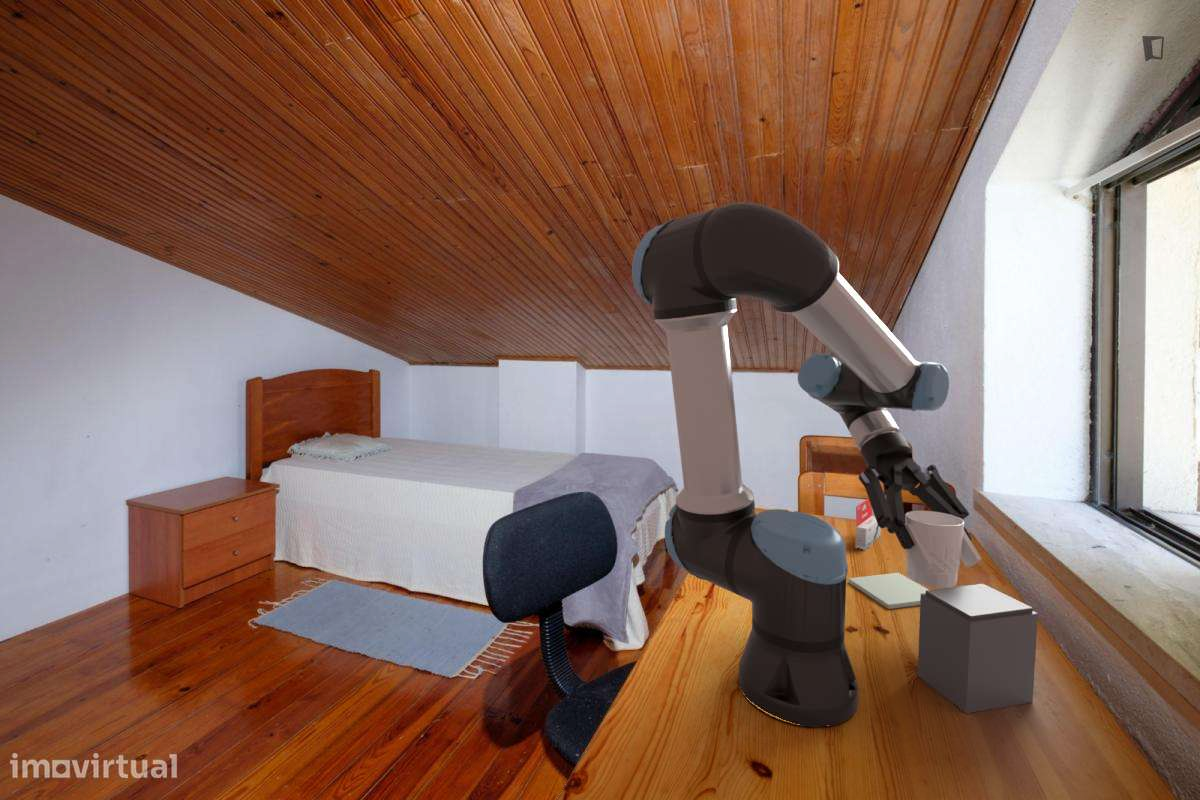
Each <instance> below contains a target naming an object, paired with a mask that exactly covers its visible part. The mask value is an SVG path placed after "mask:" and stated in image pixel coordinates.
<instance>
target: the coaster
mask: <svg viewBox="0 0 1200 800" xmlns="http://www.w3.org/2000/svg"><path fill="white" fill-rule="evenodd" d="M848 583H849V584H850V585H852V586H853V587H855V588H856V589H858V590H859V591H861V592H862V593H864V594H865V595H867V596H868V597H870V598H871V599H872V600H874V601H876V602H877V603H879V604H880V605H882V607H884V608H887V609H888V610H892V609H899V608H900V609H901V608H907V607H916V606H920V599H921V594H923V593H926V591H927V590H929V589H928V588H927V587H925V586H924V585H923V586H922V584H919V583H917V582H914V581H913V580H911V579H910V578H908V576H905V575H904V574H901V573H900V572H893V573H885V574H876V575H868V576H865V575H864V576H858V577H849V578H848Z"/></svg>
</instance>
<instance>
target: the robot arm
mask: <svg viewBox="0 0 1200 800" xmlns="http://www.w3.org/2000/svg"><path fill="white" fill-rule="evenodd" d="M631 266H632V267H631V273H632V274H631V275H632V282H633V285H634V288H635V290H636V293H637V294H638V295H639V296H641V297H642V298H641V300H643V301H644V303H646V304H648V305H650V306H652V312H653V321H654V322H655V323H656V324H657V325H658V326H659V327H661V328H662V329H663V330H664V331H665V332H666V339H667V340H666V341H667V349H668V357H669V366H670V375H671V384H672V385H671V386H672V393H673V401H674V410H675V419H676V427H677V436H678V445H679V452H680V463H681V464H680V465H681V471H682V479H683V481H682V482H683V489H681V491H680V492H679V493H678V494H677V495H676V497H675V504H673V506H672V508H671V509H670V511H669V512H668V515H669V519H668V520H666V521H665V525H664V542H665V546H666V549H667V552H668V554H669V556H670V559H672V560H673V562H674V563H675V564H676V565H677V566H678V567H679V568H681V569H682V570H684V571H686V572H688V574H690V575H691V576H694V577H695V578H697V579H699V580H704V581H707V582H709V583H711V584H714V585H715V586H717V587H720V588H722V589H724V590H726V591H729V592H730V593H733V594H735V595H737V596H739V597H742V598H744V599H746V600H748V601H750V602H751V630H750V632H749V636H748V637H747V641H746V644H745V647H744V650H743V652H742V656H741V658H740V661H739V663H738V685H739V684H740V686H739V688H740V687H741V689H742V691H743V693H744V694H745V696H746V697H747V698H748V699H749V700H750V701H751V702H753V703H754V704H755V705H757V706H758V707H760V708H761V709H763V710H764V711H766V712H768V713H770V714H772V715H774V716H777V717H779V718H781V719H783V720H786V721H789V722H792V723H795V724H800V725H803V726H802V727H804V726H811V727H810V728H814V727H813V726H816V727H815V728H818V727H817V726H827V725H834V724H837V725H839V724H838V723H840V722H842V721H845V720H846V721H848V720H849V719H851V718H852V717H853V716H854V715H855V713H856V711H857V710H858V704H859V687H858V685H859V684H858V681H857V679H856V674H855V672H854V668H853V666H852V663H851V659H850V655H849V653H848V649H847V648H846V647H847V646H846V644H845V632H846V631H845V626H846V603H847V602H846V598H847V597H846V596H847V576H848V572H849V566H848V562H847V550H846V549H847V548H846V542H845V540H844V538H843V537H842V534H841V533H840V531H839V530H838V529H837V528H836V527H835V526H833V525H832V524H830V522H828V521H826V520H824V519H822V518H819V517H817V516H815V515H812V514H809V513H806V512H802V511H798V510H795V511H790V510H788V509H780V508H779V509H777V508H776V509H775V508H773V509H767V510H763V511H760V512H758V513H756V504H755V496H754V493H753V491H752V490H751V489H750V488H749V487H747V486H746V485H745V484H743V480H742V470H741V469H742V468H741V467H742V466H741V458H740V446H739V437H738V427H737V425H738V424H737V416H736V406H735V405H736V403H735V397H734V396H735V394H734V383H733V382H734V381H733V373H732V362H731V352H730V341H729V331H728V324H729V322H730V320H731V319H732V318H733V316H735V315H736V313H737V312H738V307H737V299H739V298H750V299H751V298H752V299H757V300H760V301H764V302H766V303H767V304H768V305H769V306H770V307H772V308H773V309H774V310H775V311H776V312H779V313H780V314H781V313H782V314H790V315H793V317H795V318H796V320H797V321H799V322H800V323H801V324H802V325H803V326H804V327H805V328H806V329H807V330H808V331H809V332H810V333H811V334H812V335H814V336H815V338H817V339H818V341H820V342H821V343H822V344H823V345H824V346H825V347H826V348H827V349H828V350H829V351H830V352H831V353H832V354H833V355H834V356H833V355H830V354H828V353H824V352H823V353H822V352H819V353H815V354H812V355H810V356H809V357H807V358H806V359H805V360H804V361H803V362H802V363H801V364H800V367H799V368H798V373H797V383H798V385H799V387H800V388H801V389H802V390H803V391H804V392H805V393H807V394H808V396H810V398H813V399H815V400H817V401H818V402H820V403H822V404H824V405H825V406H827V407H828V408H830V409H831V410H833V411H834V412H836V413H837V414H839V416H840V417H841V419H842V421H843V424H845V426H846V428H847V430H848V431H849V434H850V436H851V437H852V439H853V441H854V443H855V445H856V447H857V449H858V450H859V451H860V455H861V457H862V459H863V460H864V462H865V464H866V466H867V467H866V468H865V469H863V471H862V472H861V473H860V474H859V476H858V480H859V481H860V482H861V484H862V485H863V487H864V488H865V491H866V494H867V497H868V498H869V500H870V503H871V506H872V513H873V516H875V518H876V521H877V524H878V526H879V527H880V528H881V529H886V531H887V532H888V533H889V534H892V535H893V534H895V536H896V538H897V540H898V542H899V544H900V546H901V547H902V549H904V550H906V549H907V551H908V553H909V554H910V556H911V558H912V560H913V562H914V564H915V566H916V568H917V570H918V572H919V571H924V570H925V569H927V568H928V567H929V566H931V565H932V564H933V562H932V560H931V559H930V557H929V555H928V553H927V551H926V549H925V548H924V546H923V544H922V542H921V540H920V539H919V537H918V535H917V533H916V531H915V530H914V528H913V526H912V525H911V524H907V525H906V526H905V509H904V501H903V494H902V491H907V492H909V494H911V495H912V496H916V497H917V498H918V499H919V500H920V501H921V502H922V503H923V504H924V505H925V506H926V507H927V508H928V509H929V510H930V511H935V512H941V513H946V514H950V515H953V516H956V517H959V518H961V519H962V520H965V519H966V518H967V517H969V516H970V513H969V511H968V510H967V508H966V507H965V505H963V503H962V502H961V500H959V499H958V497H957V496H956V494H955V493H954V492H953V490H952V489H951V488H950V487H949V486H948V484H947V483H946V482H945V480H944V479H943V478H942V476H941V475H940V473H939V470H938V468H937V466H936V465H934V464H930V465H929V466H920V465H919V463H917V461H915V460H914V459H913V450H912V448H911V446H910V444H909V443H908V441H907V440H906V438H905V435H903V434H902V433H901V430H900V428H899V426H898V425H897V423H896V421H895V419H894V418H893V417H892V414H891V413H890V412H889V410H888V409H893V410H903V411H904V410H906V411H911V412H916V411H924V412H925V411H929V412H930V411H932V412H933V411H936V410H938V409H940V408H941V407H943V405H944V404H945V403H946V400H947V396H948V394H949V389H950V378H949V373H948V370H947V369H946V367H945V366H944V365H943V364H941V363H938V362H930V361H928V360H924V361H918V360H916V359H915V358H914V357H913V356H912V354H911V353H910V352H909V351H908V350H907V349H906V347H905V346H904V345H903V344H902V343H901V342H900V341H899V339H897V337H896V335H894V334H893V333H892V332H891V331H890V329H889V327H887V326H886V324H885V323H884V322H883V321H882V320H881V319H880V318H879V317H878V316H877V315H876V313H875V312H874V311H873V310H872V309H871V307H870V306H869V305H868V304H867V303H866V302H865V301H864V300H863V299H862V297H861V296H860V295H859V294H858V293H857V292H856V290H854V288H853V287H852V286H851V285H850V284H849V283H848V281H847V280H846V279H845V278H844V276H843V275H842V274H840V271H839V270H840V261H839V258H838V256H836V254H835V252H833V250H832V249H831V247H830V246H829V245H828V244H827V243H826V242H825V241H824V240H823V239H822V238H820V237H819V235H818V234H817V233H816V232H814V231H813V230H811V229H810V228H809V227H807V226H806V225H805V224H804V223H801V222H800V221H799V220H797V219H795V218H794V217H792V216H790V215H788V214H786V213H784V212H783V211H780V210H778V209H775V208H774V207H773V208H772V207H770V206H768V205H765V204H760V203H755V202H746V201H737V202H731V203H727V204H724V205H721V206H719V207H715V208H711V209H708V210H705V211H700V212H696V213H693V214H688V215H685V216H681V217H678V218H674V219H673V218H671V219H669V221H666V222H664V223H663V224H660V225H657V226H655V227H653V228H652V229H650V230H648V232H646V233H645V235H644V236H643V237H642V239H641V240H640V242H639V243H638V244H637V246H636V249H635V250H634V254H633V258H632V265H631ZM881 483H882V484H883V485H882V484H881ZM882 486H883V487H882ZM960 560H961V561H962V563H963V565H964V566H965V567H966V568H970V567H972V566H974V565H975V564H977V563H978V562H980V561H982V560H983V559H982V557H981V555H980V554H979V552H978V550H977V548H976V547H975V546H974V544H973V543H972V537H971V534H970V533H969V532H968V529H967V528H966V527H965V526H964V532H963V541H962V550H961V557H960ZM741 689H740V690H741ZM742 691H741V692H742ZM743 693H742V694H743ZM745 696H744V697H745ZM852 715H853V716H852ZM851 716H852V717H851ZM850 717H851V718H850ZM847 719H848V720H847ZM846 721H845V722H846ZM840 724H841V723H840ZM834 726H835V725H834Z"/></svg>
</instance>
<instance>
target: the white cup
mask: <svg viewBox="0 0 1200 800" xmlns="http://www.w3.org/2000/svg"><path fill="white" fill-rule="evenodd" d="M904 516H905V524H904V525H905V526H906V525H907V524H911V525H912V526H913V528H914V530H915V531H916V533H917V535H918V537H919V539H920V540H921V542H922V544H923V546H924V548H925V549H926V551H927V553H928V555H929V557H930V559H931V560H932V562H933V564H932V565H931V566H929V567H928V568H927V569H925V570H924V571H919V572H918V570H917V568H916V566H915V564H914V562H913V560H912V558H911V556H910V554H909V553H908V551H907V549H905V560H906V575H907V576H906V577H907V578H909V579H910V580H912V581H914V582H916V583H918V584H919V585H921V586H922V585H923V586H924V587H925V586H927V587H931V588H936V589H943V588H951V587H956V585H957V583H958V575H959V568H960V565H961V550H962V541H963V532H964V527H965V519H963V520H962V519H961V518H959V517H956V516H953V515H950V514H946V513H941V512H935V511H932V510H911V511H908V512H906V513H904Z"/></svg>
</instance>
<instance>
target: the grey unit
mask: <svg viewBox="0 0 1200 800" xmlns="http://www.w3.org/2000/svg"><path fill="white" fill-rule="evenodd" d="M919 606H920V607H919V627H918V628H919V630H918V655H917V656H918V657H917V677H919V679H921V680H922V681H923V682H925V683H926V684H927V685H929V686H930V687H931V688H932V689H933V690H935V691H936V692H937V693H938V694H940V695H941V696H943V697H944V698H945V699H947V700H948V701H949V702H950V703H952V704H953V705H954V704H955V705H956V707H957V706H958V707H959V708H960V709H959V708H958V707H957V708H958V709H959V710H961V711H962V712H963V711H964V712H965V713H964V714H966V713H968V714H970V713H969V712H974V713H978V712H977V711H979V712H984V711H990V710H989V709H991V710H996V708H997V709H1001V708H1008V707H1013V706H1018V705H1026V704H1031V703H1033V701H1034V700H1033V699H1034V685H1035V684H1034V683H1035V669H1036V667H1035V666H1036V655H1037V654H1036V652H1037V651H1036V650H1037V637H1038V636H1037V635H1038V621H1039V620H1038V619H1039V613H1037V612H1036V611H1034V610H1033V609H1034V608H1033V607H1032V606H1030V605H1028V604H1026V603H1023V602H1021V601H1019V600H1017V599H1015V598H1013V597H1011V596H1009V595H1007V594H1004V593H1003V592H1001V591H999V590H997V589H994V588H993V587H990V586H989V585H987V584H984V583H977V584H970V585H969V584H968V585H959V586H954V587H950V588H936V589H928V590H927V591H926V593H923V594H921V599H920V605H919ZM955 705H954V706H955Z"/></svg>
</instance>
